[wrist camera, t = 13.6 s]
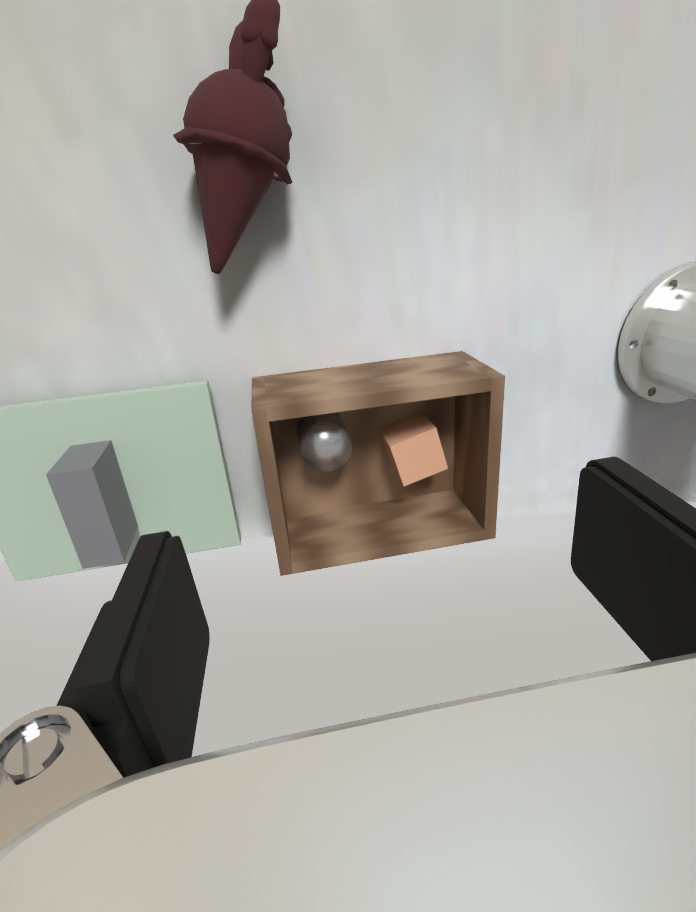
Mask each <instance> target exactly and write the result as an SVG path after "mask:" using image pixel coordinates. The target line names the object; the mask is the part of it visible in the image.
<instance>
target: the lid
mask: <svg viewBox="0 0 696 912" xmlns="http://www.w3.org/2000/svg"><path fill="white" fill-rule="evenodd" d="M164 531H169V532H170V533H171V535H172V537H173V536H179V537H180V538H181V541H182V543H183V547H184V550H185V553H192V552H198V551H204V550H211V549H217V548H222V547H229V546H235V545H240V544H241V537H240V532H239V527H238V522H237V518H236V513H235V508H234V503H233V498H232V494H231V489H230V484H229V479H228V474H227V470H226V465H225V460H224V455H223V450H222V446H221V441H220V436H219V431H218V427H217V422H216V417H215V412H214V407H213V403H212V398H211V393H210V388H209V383H208V380H206V381H198V382H190V383H182V384H174V385H166V386H158V387H149V388H141V389H133V390H125V391H117V392H109V393H101V394H92V395H84V396H76V397H68V398H60V399H52V400H44V401H35V402H27V403H19V404H11V405H3V406H0V550H1V552H2V554H3V556H4V558H5V561H6V563H7V565H8V567H9V569H10V571H11V573H12V575H13V578H14V580H15V581H22V580H28V579H34V578H40V577H47V576H52V575H59V574H65V573H70V572H76V571H83V570H89V569H95V568H101V567H107V566H113V565H119V564H125V563H129V561H130V558H131V556H132V554H133V551H134V549H135V547H136V545H137V542H138V540H139V538H140V536H141V535H145V534H151V533H158V532H164Z"/></svg>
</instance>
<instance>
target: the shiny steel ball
mask: <svg viewBox="0 0 696 912" xmlns="http://www.w3.org/2000/svg"><path fill="white" fill-rule="evenodd" d="M297 435H298V439H299V444H300V449H301V454H302V457H303V459H304V461H305V462H306V464H307V465H308V466H310V467H311V468H313V469H315V470H317V471H322V472H328V471H333V470H336V469H338V468H340V467H341V466H343V465H344V464H345V463H346V462H347V460H348V459H349V457H350V455H351V451H352V443H351V439H350V437H349V435H348V433H347V431H346V428H345V426H344V424H343V422H342V420H341V418H340V417H339V415H338V414H337V413H336V412H335V413H328V414H321V415H313V416H306V417H302V418H301V419H300V421H299V423H298V426H297Z"/></svg>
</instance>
